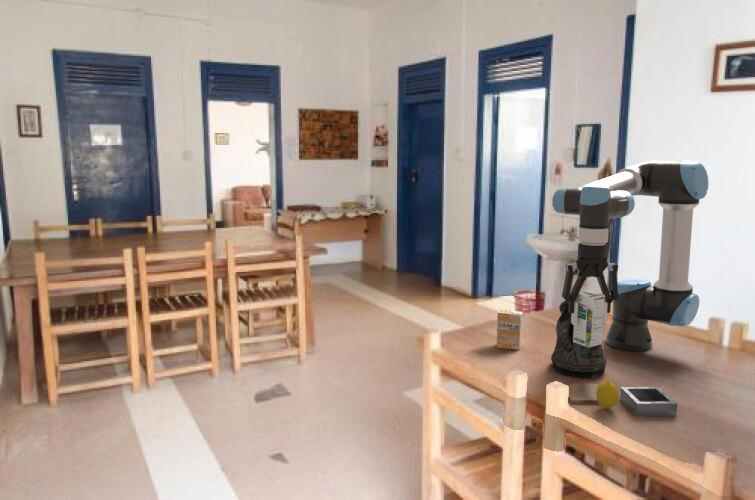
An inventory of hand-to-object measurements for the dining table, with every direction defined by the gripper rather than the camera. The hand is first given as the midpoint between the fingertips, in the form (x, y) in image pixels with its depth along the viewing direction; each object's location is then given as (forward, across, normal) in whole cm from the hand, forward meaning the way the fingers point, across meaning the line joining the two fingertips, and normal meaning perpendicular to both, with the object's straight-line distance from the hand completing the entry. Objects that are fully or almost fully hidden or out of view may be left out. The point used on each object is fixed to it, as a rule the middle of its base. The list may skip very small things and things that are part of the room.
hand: (588, 324), depth 158 cm
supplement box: (+21, +13, -40) cm, 47 cm away
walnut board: (+21, 0, 0) cm, 21 cm away
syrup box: (+6, 0, 0) cm, 6 cm away
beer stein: (+21, -4, -18) cm, 28 cm away
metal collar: (+21, -14, +8) cm, 27 cm away
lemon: (+21, -3, +9) cm, 23 cm away
